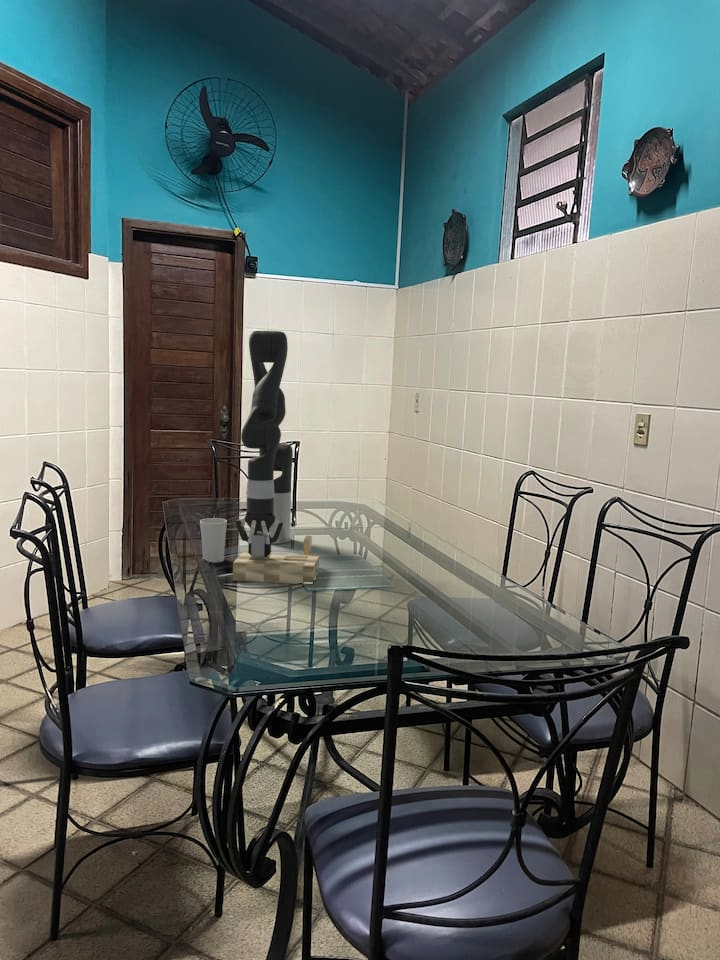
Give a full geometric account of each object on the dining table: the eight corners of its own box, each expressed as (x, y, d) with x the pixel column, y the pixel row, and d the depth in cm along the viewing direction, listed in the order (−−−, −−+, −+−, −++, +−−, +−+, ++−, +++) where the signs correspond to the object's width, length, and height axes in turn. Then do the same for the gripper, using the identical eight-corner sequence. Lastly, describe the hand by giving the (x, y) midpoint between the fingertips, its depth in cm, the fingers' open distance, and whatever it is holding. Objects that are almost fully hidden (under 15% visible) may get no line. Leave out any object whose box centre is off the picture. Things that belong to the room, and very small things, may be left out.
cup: (200, 563, 204) (200, 523, 202) (199, 556, 211) (199, 518, 210) (227, 562, 206) (228, 523, 204) (225, 556, 214) (226, 517, 212)
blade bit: (305, 564, 207) (306, 535, 205) (311, 565, 206) (311, 535, 205) (303, 569, 201) (304, 539, 200) (308, 569, 201) (309, 539, 200)
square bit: (254, 566, 195) (254, 531, 193) (266, 566, 195) (266, 532, 193) (251, 569, 191) (251, 535, 189) (264, 570, 191) (264, 535, 189)
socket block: (243, 568, 200) (243, 551, 199) (318, 572, 199) (319, 555, 198) (232, 580, 188) (233, 562, 188) (313, 584, 187) (313, 566, 186)
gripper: (288, 494, 194) (286, 554, 196) (238, 492, 195) (237, 551, 197) (283, 498, 186) (282, 560, 189) (231, 496, 187) (231, 558, 190)
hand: (259, 555), depth 193 cm, fingers closed on square bit, 3 cm apart
